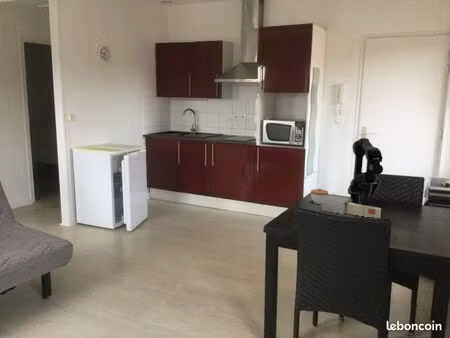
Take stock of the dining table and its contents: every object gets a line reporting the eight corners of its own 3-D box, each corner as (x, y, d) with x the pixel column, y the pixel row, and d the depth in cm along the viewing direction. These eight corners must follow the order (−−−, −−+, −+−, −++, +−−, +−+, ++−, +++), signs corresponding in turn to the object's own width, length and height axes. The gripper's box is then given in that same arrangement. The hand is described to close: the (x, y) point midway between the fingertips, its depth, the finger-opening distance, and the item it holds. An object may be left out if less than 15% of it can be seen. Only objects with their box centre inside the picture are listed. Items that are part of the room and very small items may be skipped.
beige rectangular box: (348, 212, 243) (348, 202, 242) (380, 218, 231) (381, 208, 230) (345, 213, 241) (346, 203, 239) (378, 219, 229) (379, 209, 228)
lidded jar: (323, 206, 256) (324, 191, 255) (307, 203, 263) (308, 188, 261) (330, 202, 265) (331, 188, 263) (314, 199, 271) (315, 185, 269)
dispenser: (328, 206, 255) (329, 195, 253) (351, 211, 246) (352, 199, 244) (320, 210, 246) (321, 198, 245) (344, 215, 237) (345, 202, 236)
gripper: (363, 166, 243) (361, 191, 246) (351, 171, 228) (349, 198, 232) (382, 168, 236) (380, 194, 239) (371, 174, 222) (368, 201, 225)
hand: (369, 197), depth 234 cm, fingers open, 9 cm apart
